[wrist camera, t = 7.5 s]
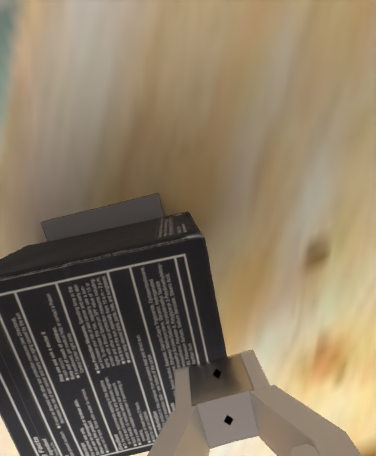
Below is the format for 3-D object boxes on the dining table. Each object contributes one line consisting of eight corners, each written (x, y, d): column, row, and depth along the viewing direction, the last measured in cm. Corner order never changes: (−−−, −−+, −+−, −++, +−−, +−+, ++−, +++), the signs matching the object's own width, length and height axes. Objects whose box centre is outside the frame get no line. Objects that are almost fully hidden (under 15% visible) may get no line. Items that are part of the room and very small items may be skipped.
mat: (157, 193, 15) (157, 193, 15) (202, 359, 18) (202, 362, 18) (43, 221, 15) (40, 222, 15) (106, 384, 18) (105, 388, 18)
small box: (189, 207, 16) (25, 241, 15) (207, 229, 9) (-74, 289, 9) (216, 344, 18) (75, 378, 18) (244, 436, 12) (26, 492, 11)
